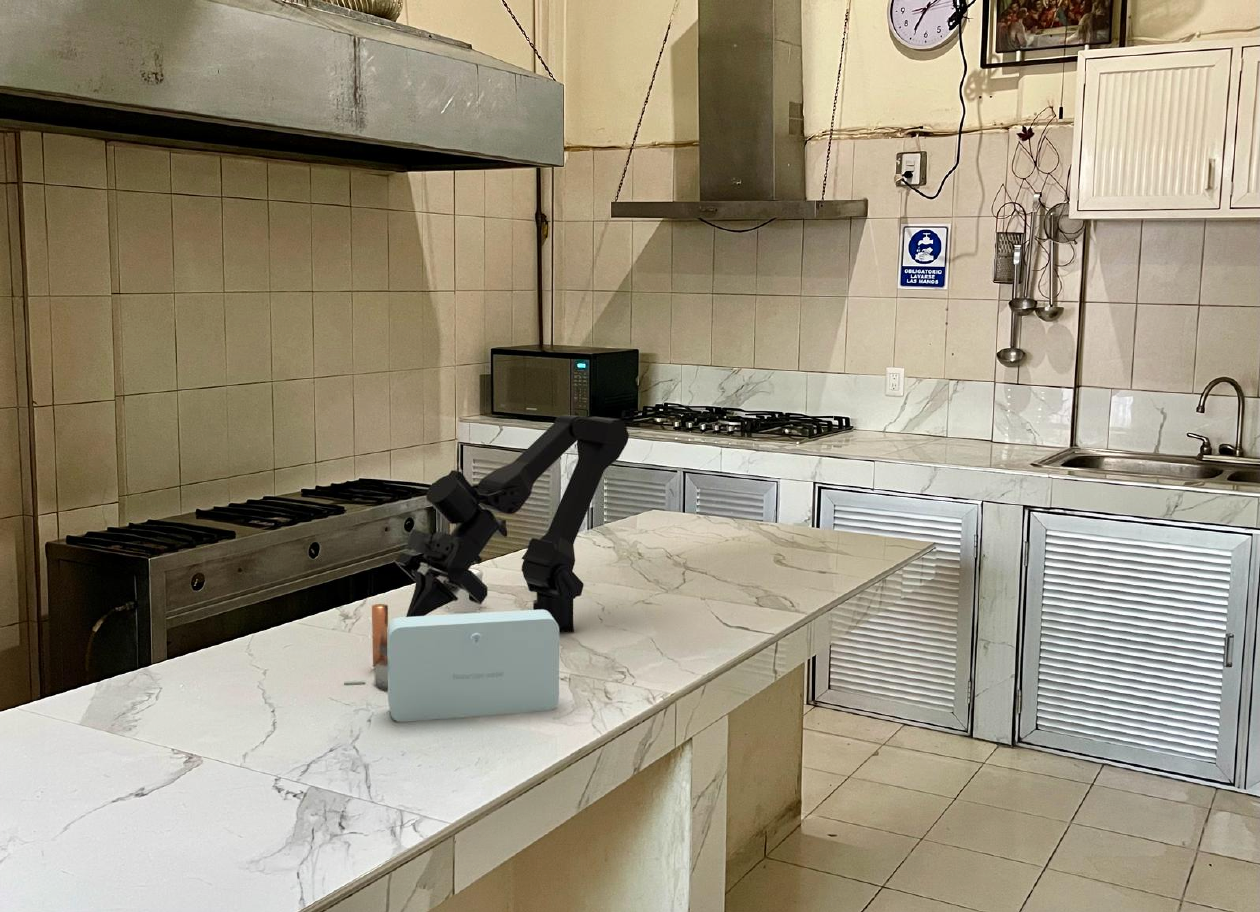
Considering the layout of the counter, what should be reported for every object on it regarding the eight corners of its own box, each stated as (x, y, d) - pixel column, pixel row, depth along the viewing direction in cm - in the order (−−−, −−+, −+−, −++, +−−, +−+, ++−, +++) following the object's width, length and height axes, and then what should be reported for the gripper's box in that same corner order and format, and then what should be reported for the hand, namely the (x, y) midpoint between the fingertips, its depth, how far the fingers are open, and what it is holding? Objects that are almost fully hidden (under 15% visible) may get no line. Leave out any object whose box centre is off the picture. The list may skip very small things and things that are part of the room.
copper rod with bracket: (407, 673, 183) (406, 612, 182) (393, 676, 182) (392, 614, 180) (383, 662, 188) (382, 603, 187) (369, 665, 187) (368, 605, 185)
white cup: (476, 614, 218) (475, 576, 217) (439, 612, 219) (439, 574, 218) (487, 605, 225) (487, 568, 224) (452, 602, 226) (452, 566, 225)
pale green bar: (365, 682, 180) (365, 680, 180) (364, 684, 180) (364, 682, 180) (344, 683, 180) (344, 681, 180) (344, 684, 179) (344, 682, 179)
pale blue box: (390, 725, 163) (389, 629, 162) (388, 710, 169) (386, 618, 167) (559, 712, 169) (560, 619, 167) (551, 698, 175) (552, 608, 173)
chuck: (444, 670, 186) (444, 626, 185) (441, 692, 177) (441, 645, 176) (378, 671, 185) (377, 627, 184) (371, 693, 175) (371, 647, 174)
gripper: (404, 502, 196) (345, 578, 190) (471, 519, 182) (409, 602, 177) (445, 543, 202) (389, 618, 197) (513, 562, 189) (454, 644, 183)
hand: (408, 620), depth 188 cm, fingers closed
